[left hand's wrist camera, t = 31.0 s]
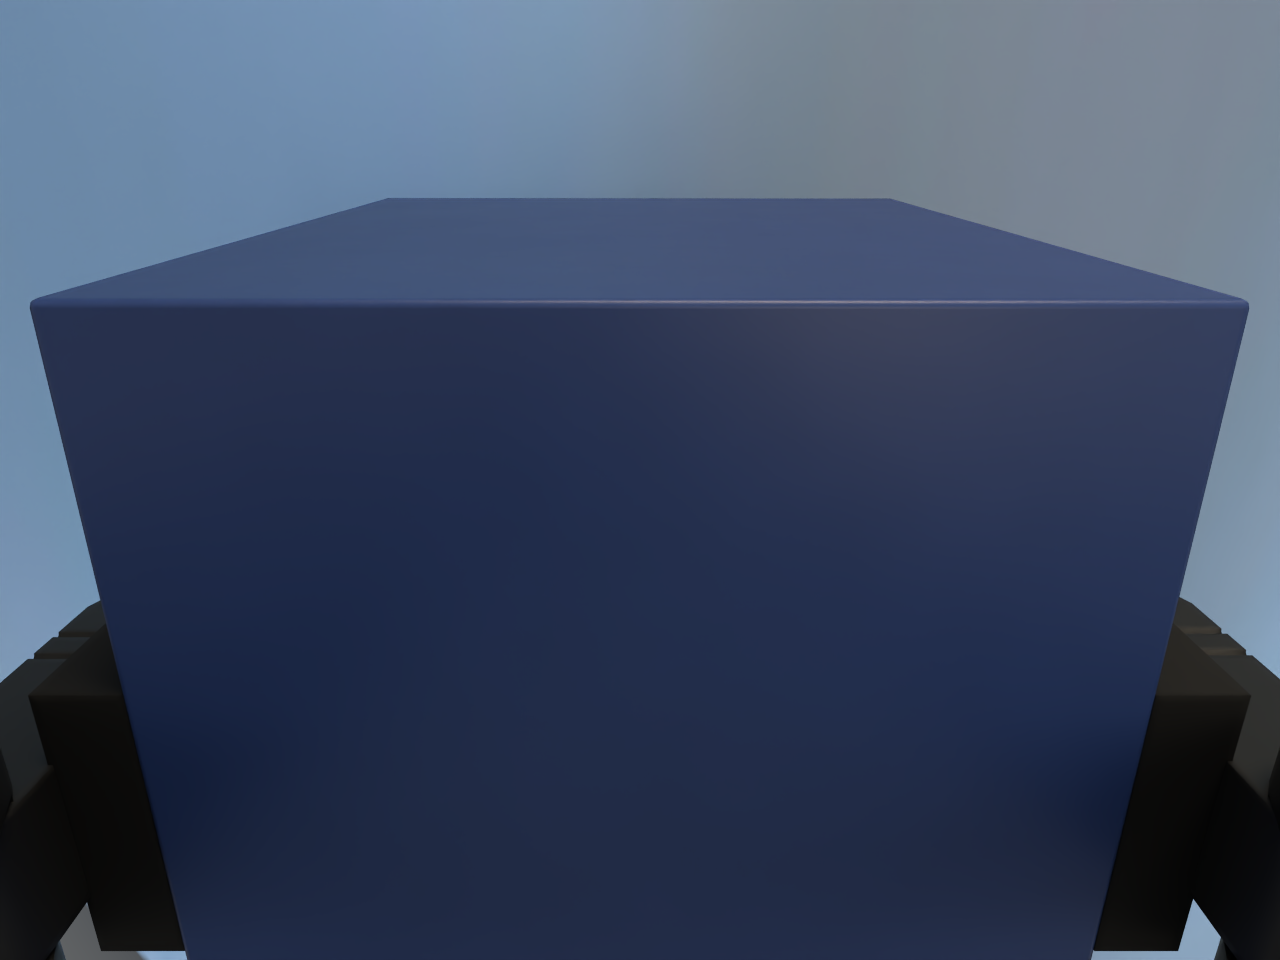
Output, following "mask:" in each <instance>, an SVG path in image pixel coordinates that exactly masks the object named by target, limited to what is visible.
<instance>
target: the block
mask: <svg viewBox="0 0 1280 960" xmlns="http://www.w3.org/2000/svg"><path fill="white" fill-rule="evenodd" d="M30 311H31V315H32V319H33V323H34V327H35V331H36V335H37V340H38V344H39V348H40V352H41V356H42V360H43V364H44V369H45V373H46V377H47V381H48V385H49V389H50V393H51V397H52V402H53V406H54V410H55V414H56V418H57V422H58V426H59V431H60V435H61V439H62V443H63V447H64V451H65V455H66V460H67V464H68V468H69V472H70V476H71V480H72V484H73V488H74V493H75V497H76V501H77V505H78V509H79V513H80V517H81V522H82V526H83V530H84V534H85V538H86V542H87V546H88V551H89V555H90V559H91V563H92V567H93V571H94V575H95V579H96V584H97V588H98V592H99V596H100V600H101V604H102V608H103V613H104V617H105V621H106V625H107V629H108V633H109V637H110V642H111V646H112V650H113V654H114V658H115V662H116V666H117V671H118V675H119V679H120V683H121V687H122V691H123V695H124V699H125V704H126V708H127V712H128V716H129V720H130V724H131V728H132V733H133V737H134V741H135V745H136V749H137V753H138V757H139V762H140V766H141V770H142V774H143V778H144V782H145V786H146V790H147V795H148V799H149V803H150V807H151V811H152V815H153V819H154V824H155V828H156V832H157V836H158V840H159V844H160V848H161V853H162V857H163V861H164V865H165V869H166V873H167V877H168V881H169V886H170V890H171V894H172V898H173V902H174V906H175V910H176V915H177V919H178V923H179V927H180V931H181V935H182V939H183V944H184V948H185V952H186V956H187V960H1091V957H1092V953H1093V949H1094V945H1095V941H1096V937H1097V933H1098V928H1099V924H1100V920H1101V916H1102V912H1103V908H1104V904H1105V900H1106V896H1107V891H1108V887H1109V883H1110V879H1111V875H1112V871H1113V867H1114V863H1115V859H1116V854H1117V850H1118V846H1119V842H1120V838H1121V834H1122V830H1123V826H1124V821H1125V817H1126V813H1127V809H1128V805H1129V801H1130V797H1131V793H1132V789H1133V784H1134V780H1135V776H1136V772H1137V768H1138V764H1139V760H1140V756H1141V752H1142V747H1143V743H1144V739H1145V735H1146V731H1147V727H1148V723H1149V719H1150V715H1151V710H1152V706H1153V702H1154V698H1155V694H1156V690H1157V686H1158V682H1159V678H1160V673H1161V669H1162V665H1163V661H1164V657H1165V653H1166V649H1167V645H1168V640H1169V636H1170V632H1171V628H1172V624H1173V620H1174V616H1175V612H1176V608H1177V603H1178V599H1179V595H1180V591H1181V587H1182V583H1183V579H1184V575H1185V571H1186V566H1187V562H1188V558H1189V554H1190V550H1191V546H1192V542H1193V538H1194V534H1195V529H1196V525H1197V521H1198V517H1199V513H1200V509H1201V505H1202V501H1203V496H1204V492H1205V488H1206V484H1207V480H1208V476H1209V472H1210V468H1211V464H1212V459H1213V455H1214V451H1215V447H1216V443H1217V439H1218V435H1219V431H1220V427H1221V422H1222V418H1223V414H1224V410H1225V406H1226V402H1227V398H1228V394H1229V390H1230V385H1231V381H1232V377H1233V373H1234V369H1235V365H1236V361H1237V357H1238V353H1239V348H1240V344H1241V340H1242V336H1243V332H1244V328H1245V324H1246V320H1247V315H1248V311H1249V304H1248V302H1247V301H1245V300H1243V299H1241V298H1238V297H1234V296H1231V295H1227V294H1223V293H1220V292H1216V291H1213V290H1209V289H1206V288H1202V287H1199V286H1195V285H1192V284H1188V283H1185V282H1181V281H1178V280H1174V279H1171V278H1167V277H1164V276H1160V275H1157V274H1153V273H1150V272H1146V271H1143V270H1139V269H1135V268H1132V267H1128V266H1125V265H1121V264H1118V263H1114V262H1111V261H1107V260H1104V259H1100V258H1097V257H1093V256H1090V255H1086V254H1083V253H1079V252H1076V251H1072V250H1069V249H1065V248H1062V247H1058V246H1055V245H1051V244H1048V243H1044V242H1040V241H1037V240H1033V239H1030V238H1026V237H1023V236H1019V235H1016V234H1012V233H1009V232H1005V231H1002V230H998V229H995V228H991V227H988V226H984V225H981V224H977V223H974V222H970V221H967V220H963V219H960V218H956V217H952V216H949V215H945V214H942V213H938V212H935V211H931V210H928V209H924V208H921V207H917V206H914V205H910V204H907V203H903V202H900V201H896V200H893V199H590V198H387V199H384V200H380V201H377V202H373V203H370V204H366V205H363V206H359V207H356V208H352V209H349V210H345V211H342V212H338V213H335V214H331V215H328V216H324V217H321V218H317V219H314V220H310V221H307V222H303V223H300V224H296V225H292V226H289V227H285V228H282V229H278V230H275V231H271V232H268V233H264V234H261V235H257V236H254V237H250V238H247V239H243V240H240V241H236V242H233V243H229V244H226V245H222V246H219V247H215V248H212V249H208V250H205V251H201V252H198V253H194V254H191V255H187V256H184V257H180V258H176V259H173V260H169V261H166V262H162V263H159V264H155V265H152V266H148V267H145V268H141V269H138V270H134V271H131V272H127V273H124V274H120V275H117V276H113V277H110V278H106V279H103V280H99V281H96V282H92V283H89V284H85V285H82V286H78V287H75V288H71V289H68V290H64V291H60V292H57V293H53V294H50V295H46V296H43V297H39V298H37V299H35V300H32V302H31V303H30Z"/></svg>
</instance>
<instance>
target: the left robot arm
mask: <svg viewBox="0 0 1280 960" xmlns="http://www.w3.org/2000/svg"><path fill="white" fill-rule="evenodd" d="M1193 899H1194V900H1195V902H1196V903H1197V904H1198V906H1199V907H1200V909H1201V910H1202V911H1203V913H1204V914H1205V916H1206V917H1207V918H1208V920H1209V921H1210V923H1211V924H1212V925H1213V927H1214V928H1215V930H1216V931H1217V932H1218V934H1219V935H1220V936H1221V939H1220V943H1219V946H1218V949H1217V952H1216V956H1215V959H1214V960H1280V679H1279V678H1278V677H1277V676H1276V675H1274V674H1273V673H1272V672H1271V671H1270V670H1269V669H1267V668H1266V667H1265V666H1264V665H1263V664H1262V663H1260V662H1259V661H1258V660H1257V659H1256V658H1255V657H1253V656H1252V655H1246V650H1245V649H1244V648H1243V647H1242V646H1241V645H1240V644H1238V643H1237V642H1236V641H1235V640H1234V639H1233V638H1231V637H1230V636H1229V635H1228V634H1222V633H1221V628H1220V627H1219V626H1218V625H1216V624H1215V623H1214V622H1213V621H1212V620H1211V619H1209V618H1208V617H1207V616H1206V615H1205V614H1204V613H1202V612H1201V611H1200V610H1199V609H1198V608H1197V607H1195V606H1194V605H1193V604H1192V603H1190V602H1188V601H1186V600H1184V599H1182V598H1180V597H1179V599H1178V603H1177V608H1176V612H1175V616H1174V620H1173V624H1172V628H1171V632H1170V636H1169V640H1168V645H1167V649H1166V653H1165V657H1164V661H1163V665H1162V669H1161V673H1160V678H1159V682H1158V686H1157V690H1156V694H1155V698H1154V702H1153V706H1152V710H1151V715H1150V719H1149V723H1148V727H1147V731H1146V735H1145V739H1144V743H1143V747H1142V752H1141V756H1140V760H1139V764H1138V768H1137V772H1136V776H1135V780H1134V784H1133V789H1132V793H1131V797H1130V801H1129V805H1128V809H1127V813H1126V817H1125V821H1124V826H1123V830H1122V834H1121V838H1120V842H1119V846H1118V850H1117V854H1116V859H1115V863H1114V867H1113V871H1112V875H1111V879H1110V883H1109V887H1108V891H1107V896H1106V900H1105V904H1104V908H1103V912H1102V916H1101V920H1100V924H1099V928H1098V933H1097V937H1096V941H1095V945H1094V949H1093V950H1094V951H1178V949H1179V946H1180V942H1181V939H1182V936H1183V932H1184V929H1185V925H1186V922H1187V918H1188V915H1189V911H1190V908H1191V904H1192V901H1193ZM86 903H88V907H89V910H90V914H91V917H92V921H93V924H94V928H95V931H96V935H97V938H98V942H99V945H100V949H101V951H185V948H184V944H183V939H182V935H181V931H180V927H179V923H178V919H177V915H176V910H175V906H174V902H173V898H172V894H171V890H170V886H169V881H168V877H167V873H166V869H165V865H164V861H163V857H162V853H161V848H160V844H159V840H158V836H157V832H156V828H155V824H154V819H153V815H152V811H151V807H150V803H149V799H148V795H147V790H146V786H145V782H144V778H143V774H142V770H141V766H140V762H139V757H138V753H137V749H136V745H135V741H134V737H133V733H132V728H131V724H130V720H129V716H128V712H127V708H126V704H125V699H124V695H123V691H122V687H121V683H120V679H119V675H118V671H117V666H116V662H115V658H114V654H113V650H112V646H111V642H110V637H109V633H108V629H107V625H106V621H105V617H104V613H103V608H102V604H101V600H100V601H98V602H96V603H94V604H92V605H90V606H89V607H87V608H86V609H85V610H84V611H83V612H81V613H80V614H79V615H78V616H77V617H76V618H74V619H73V620H72V621H71V622H70V623H69V624H68V625H66V626H65V627H64V628H63V629H62V630H61V631H59V636H58V637H53V638H51V639H50V640H49V641H48V642H47V643H46V644H45V645H43V646H42V647H41V648H40V649H39V650H38V651H36V652H35V653H34V659H27V660H26V661H25V662H24V663H23V664H22V665H20V666H19V667H18V668H17V669H16V670H15V671H13V672H12V673H11V674H10V675H9V676H8V677H7V678H5V679H4V680H3V681H2V682H1V683H0V960H66V959H65V956H64V952H63V949H62V946H61V943H60V939H61V938H62V936H63V935H64V934H65V932H66V931H67V929H68V928H69V927H70V925H71V924H72V922H73V921H74V920H75V918H76V917H77V915H78V914H79V913H80V911H81V910H82V908H83V907H84V906H85V904H86Z"/></svg>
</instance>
